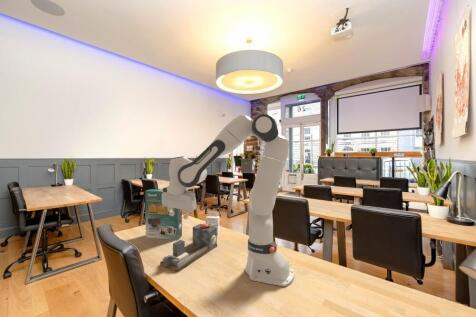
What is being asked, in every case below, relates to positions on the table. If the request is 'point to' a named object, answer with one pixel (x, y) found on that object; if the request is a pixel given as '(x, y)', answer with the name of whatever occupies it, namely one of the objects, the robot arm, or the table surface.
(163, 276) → the table surface
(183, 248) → the carriage
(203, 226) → the button
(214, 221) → the ink cartridge box
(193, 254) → the track
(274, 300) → the table surface
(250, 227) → the robot arm
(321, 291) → the table surface
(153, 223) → the cake mix box
